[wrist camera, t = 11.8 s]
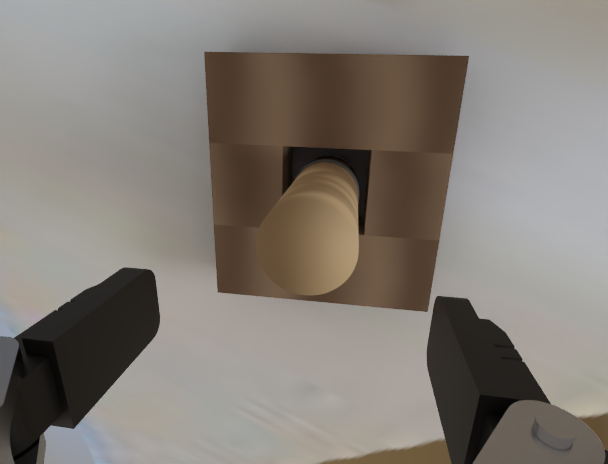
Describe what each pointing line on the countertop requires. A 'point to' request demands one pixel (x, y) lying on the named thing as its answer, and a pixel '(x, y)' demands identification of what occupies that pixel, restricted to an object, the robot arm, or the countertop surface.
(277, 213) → the oak peg
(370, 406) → the countertop surface
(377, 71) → the walnut board
